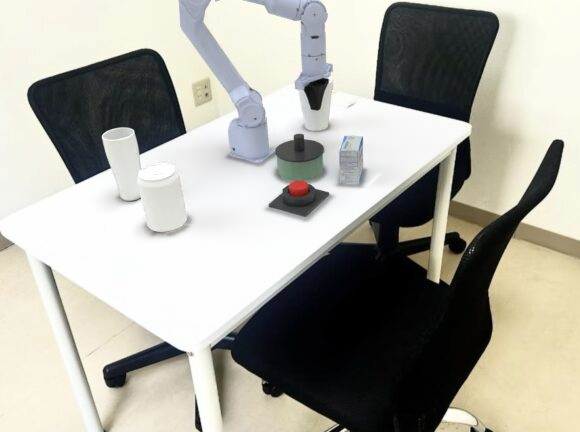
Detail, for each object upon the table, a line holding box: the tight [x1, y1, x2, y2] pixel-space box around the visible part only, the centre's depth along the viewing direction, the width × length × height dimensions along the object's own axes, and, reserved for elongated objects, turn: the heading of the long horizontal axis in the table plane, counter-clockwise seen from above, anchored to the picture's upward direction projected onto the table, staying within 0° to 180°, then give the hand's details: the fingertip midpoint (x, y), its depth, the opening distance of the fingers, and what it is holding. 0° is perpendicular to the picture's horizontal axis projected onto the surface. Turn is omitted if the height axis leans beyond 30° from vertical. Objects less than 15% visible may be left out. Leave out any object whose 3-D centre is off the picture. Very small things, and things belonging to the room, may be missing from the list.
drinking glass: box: [101, 127, 142, 202], centre depth 120 cm, size 7×7×15 cm
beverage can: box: [137, 162, 188, 233], centre depth 111 cm, size 8×8×12 cm
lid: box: [274, 133, 325, 162], centre depth 126 cm, size 11×11×4 cm
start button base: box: [268, 183, 330, 218], centre depth 117 cm, size 9×10×3 cm
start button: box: [288, 181, 309, 196], centre depth 116 cm, size 4×4×2 cm
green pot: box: [276, 154, 324, 182], centre depth 129 cm, size 10×10×5 cm
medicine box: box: [338, 135, 364, 185], centre depth 124 cm, size 8×4×9 cm, turn 168°
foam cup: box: [296, 76, 334, 132], centre depth 149 cm, size 10×9×13 cm
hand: (315, 109), depth 135 cm, fingers closed
